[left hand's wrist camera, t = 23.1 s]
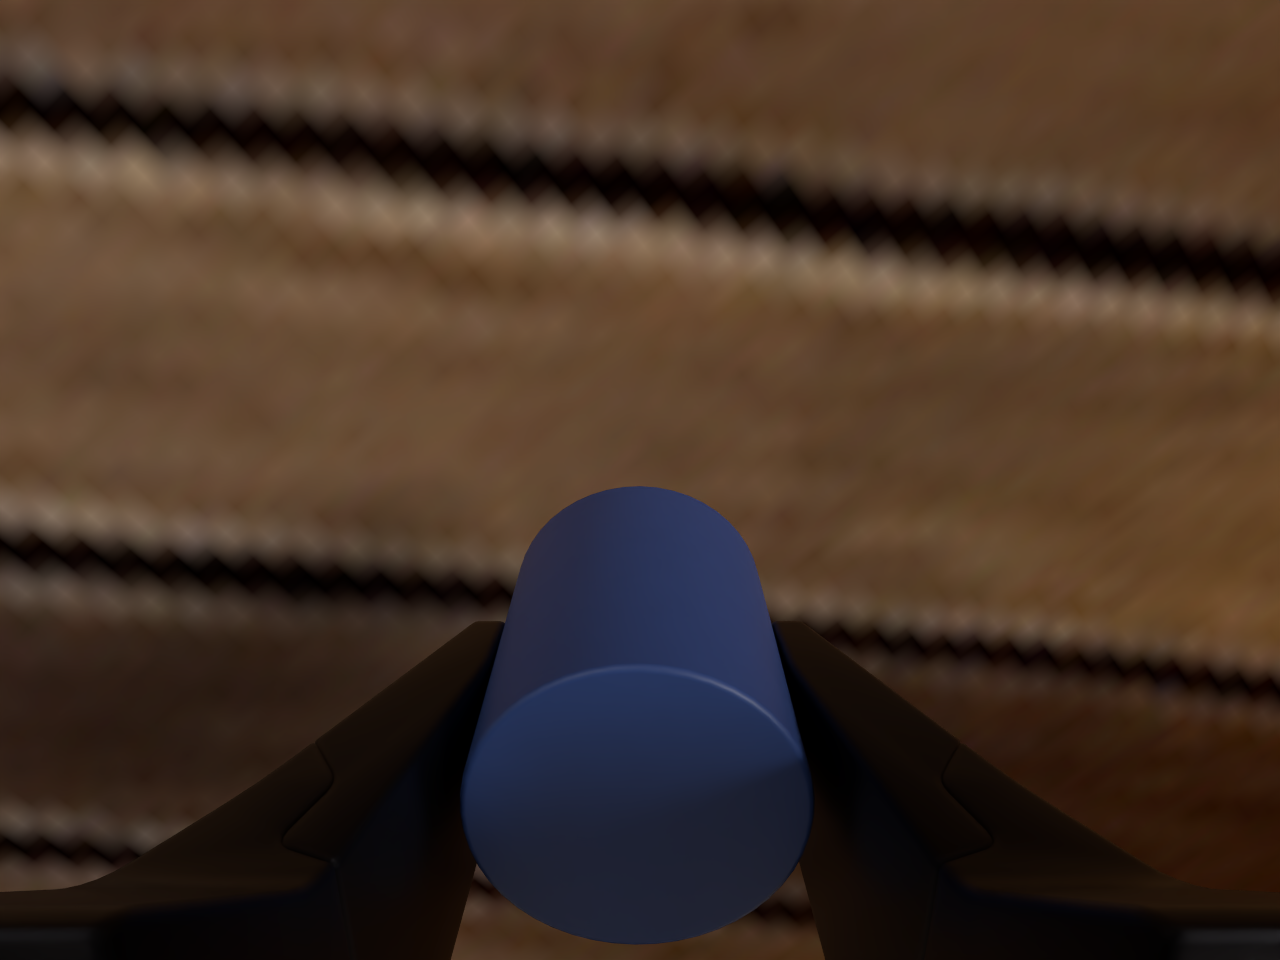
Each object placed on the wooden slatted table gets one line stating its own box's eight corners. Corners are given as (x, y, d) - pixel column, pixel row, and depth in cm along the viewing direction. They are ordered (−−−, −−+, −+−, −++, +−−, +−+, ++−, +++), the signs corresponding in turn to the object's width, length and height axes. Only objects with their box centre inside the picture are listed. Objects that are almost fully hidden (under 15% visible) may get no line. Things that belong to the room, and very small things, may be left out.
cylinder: (665, 436, 12) (677, 599, 7) (805, 617, 13) (883, 847, 9) (468, 573, 12) (382, 789, 8) (615, 733, 13) (604, 993, 9)
